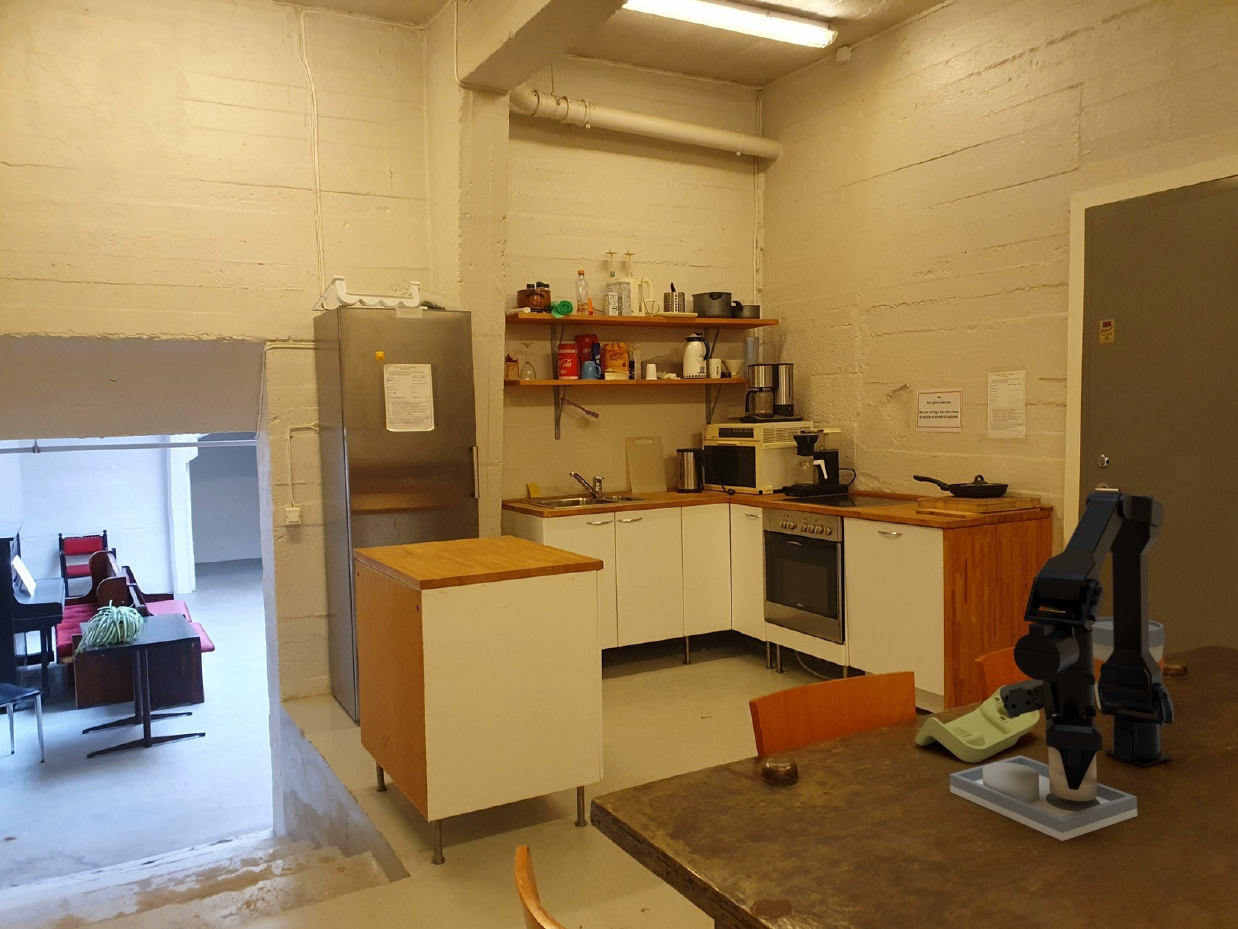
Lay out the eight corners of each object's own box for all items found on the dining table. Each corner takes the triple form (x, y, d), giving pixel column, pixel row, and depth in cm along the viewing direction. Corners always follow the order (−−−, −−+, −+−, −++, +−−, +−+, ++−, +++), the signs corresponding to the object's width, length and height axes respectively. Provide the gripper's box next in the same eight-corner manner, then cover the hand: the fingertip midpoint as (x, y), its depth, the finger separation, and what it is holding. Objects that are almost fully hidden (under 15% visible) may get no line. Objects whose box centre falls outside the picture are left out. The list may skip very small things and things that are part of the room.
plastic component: (975, 753, 136) (923, 710, 143) (960, 789, 139) (910, 746, 146) (1052, 716, 147) (999, 678, 154) (1036, 750, 150) (986, 712, 157)
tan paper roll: (1068, 781, 124) (1067, 734, 124) (1106, 795, 119) (1105, 746, 119) (1040, 789, 121) (1038, 742, 121) (1077, 804, 116) (1076, 754, 116)
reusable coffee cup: (1183, 718, 154) (1181, 630, 154) (1108, 721, 154) (1106, 633, 154) (1141, 696, 167) (1139, 615, 166) (1072, 699, 167) (1070, 618, 166)
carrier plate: (1021, 772, 134) (1020, 745, 134) (1137, 816, 117) (1136, 785, 117) (950, 791, 128) (949, 763, 127) (1062, 841, 111) (1061, 808, 111)
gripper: (1004, 644, 131) (1007, 751, 132) (1000, 677, 114) (1004, 800, 115) (1091, 648, 127) (1094, 759, 127) (1100, 684, 110) (1104, 812, 110)
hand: (1072, 780), depth 120 cm, fingers closed on tan paper roll, 6 cm apart
